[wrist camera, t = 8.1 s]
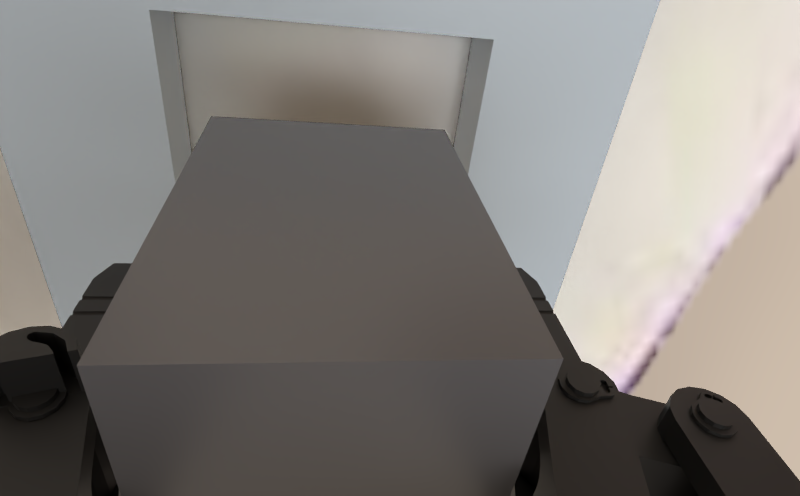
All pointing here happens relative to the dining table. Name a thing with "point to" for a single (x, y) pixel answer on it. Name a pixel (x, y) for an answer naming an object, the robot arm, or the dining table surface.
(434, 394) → the plug
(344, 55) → the dining table surface
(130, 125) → the socket plate
